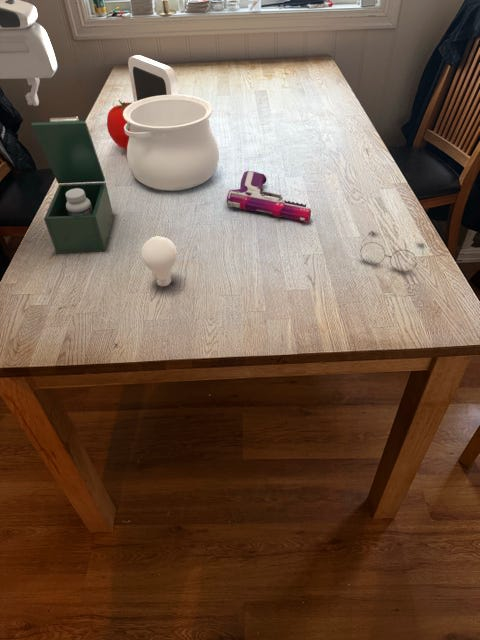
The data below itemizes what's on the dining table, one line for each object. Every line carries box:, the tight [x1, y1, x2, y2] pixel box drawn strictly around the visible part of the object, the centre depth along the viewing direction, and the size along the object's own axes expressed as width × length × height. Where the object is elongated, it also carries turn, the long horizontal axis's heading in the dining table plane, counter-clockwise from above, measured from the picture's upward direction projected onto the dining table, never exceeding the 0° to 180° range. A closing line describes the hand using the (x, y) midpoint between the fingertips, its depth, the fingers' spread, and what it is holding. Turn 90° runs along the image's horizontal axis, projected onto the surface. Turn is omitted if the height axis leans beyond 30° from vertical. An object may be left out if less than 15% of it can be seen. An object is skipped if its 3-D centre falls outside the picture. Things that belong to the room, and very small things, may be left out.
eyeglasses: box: [359, 230, 424, 273], centre depth 95 cm, size 11×13×5 cm
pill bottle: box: [65, 188, 93, 216], centre depth 100 cm, size 5×5×10 cm
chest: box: [43, 181, 114, 254], centre depth 101 cm, size 15×11×9 cm
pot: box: [123, 94, 220, 192], centre depth 118 cm, size 26×24×17 cm
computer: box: [127, 54, 180, 103], centre depth 132 cm, size 22×22×3 cm
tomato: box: [106, 99, 134, 151], centre depth 131 cm, size 12×12×13 cm
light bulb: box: [141, 235, 178, 288], centre depth 87 cm, size 7×7×11 cm
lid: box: [31, 116, 106, 185], centre depth 97 cm, size 15×11×5 cm
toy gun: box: [226, 170, 312, 223], centre depth 111 cm, size 4×22×15 cm
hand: (6, 105), depth 79 cm, fingers open, 8 cm apart
